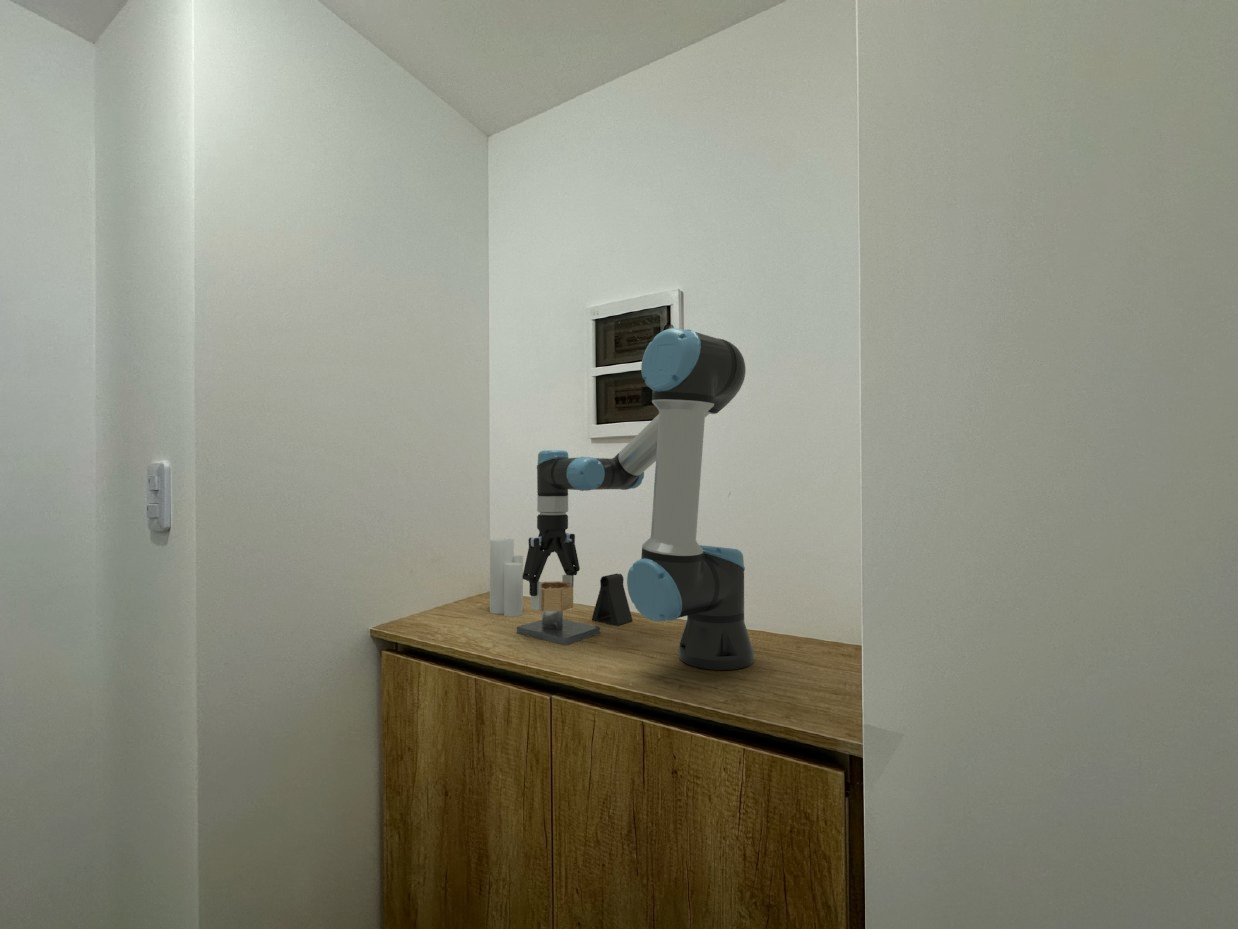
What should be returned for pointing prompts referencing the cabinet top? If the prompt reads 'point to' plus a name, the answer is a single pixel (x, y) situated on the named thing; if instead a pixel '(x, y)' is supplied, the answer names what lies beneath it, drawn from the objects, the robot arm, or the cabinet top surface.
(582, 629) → the peg on base plate
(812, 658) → the cabinet top surface
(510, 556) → the candle
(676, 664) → the cabinet top surface
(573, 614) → the cabinet top surface
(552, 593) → the ring
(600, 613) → the black triangular stand
